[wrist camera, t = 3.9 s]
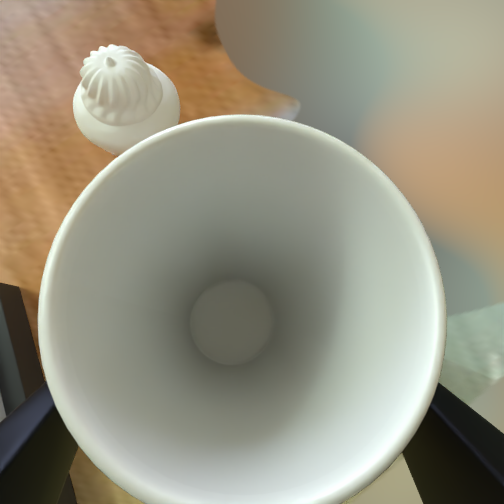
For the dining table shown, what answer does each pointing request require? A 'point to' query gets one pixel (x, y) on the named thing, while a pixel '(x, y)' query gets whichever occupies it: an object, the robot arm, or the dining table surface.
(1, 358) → the scale
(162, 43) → the dining table surface
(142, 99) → the muffin
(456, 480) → the robot arm
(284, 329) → the white cup
